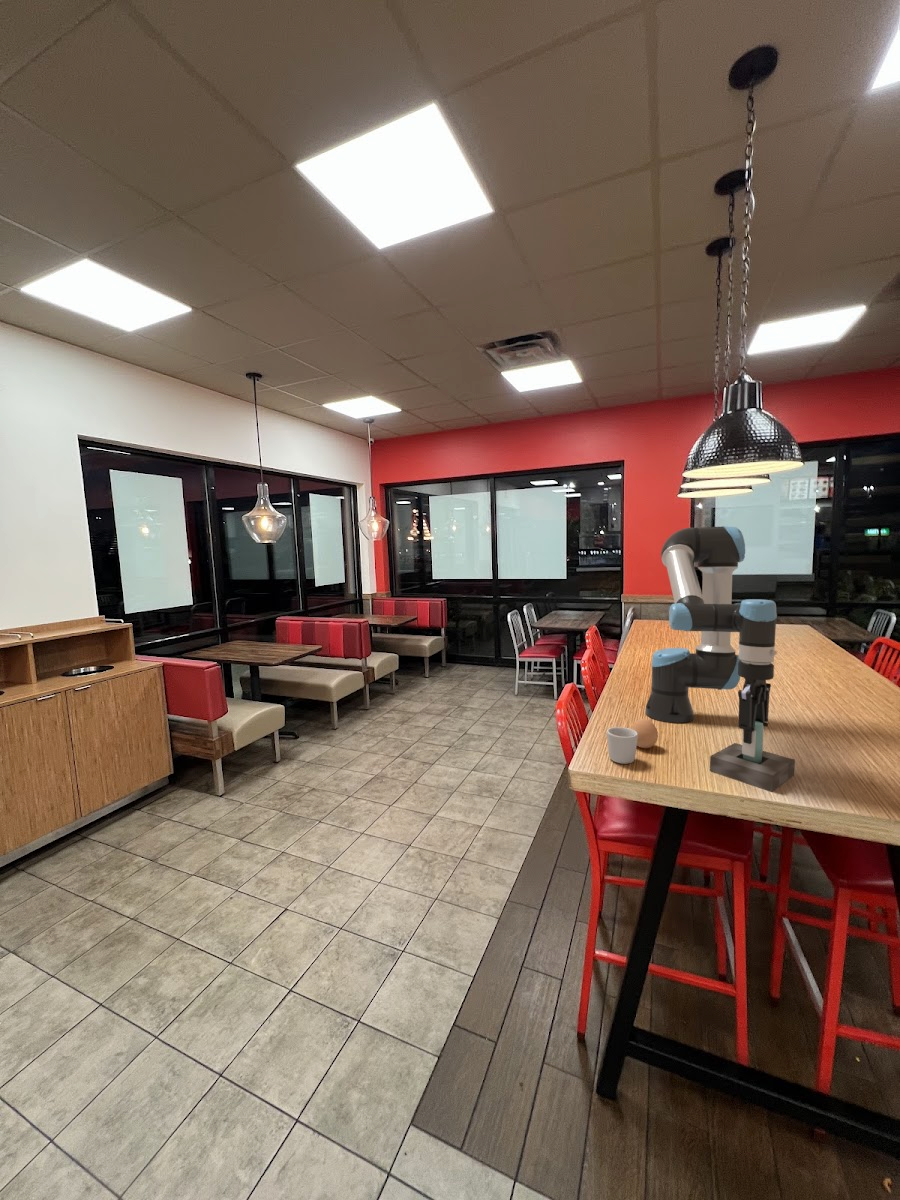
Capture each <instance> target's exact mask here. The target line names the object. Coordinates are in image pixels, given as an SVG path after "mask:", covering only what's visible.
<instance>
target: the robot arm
mask: <svg viewBox="0 0 900 1200" xmlns="http://www.w3.org/2000/svg"><path fill="white" fill-rule="evenodd" d="M745 554H746V544H745V539H744V535H743V532H742V530H741V529H739V528H738V527H737V526H736V527H735V526H726V525H721V526H705V527H704V526H703V527H685V528H682V529H680V530H677V531H675V532H674V533H672V534H671V535H670V536H669V537H668V538H667V539H666V540H665V542H664V543H663V546H662V548H661V552H660V556H661V557H660V558H661V562H662V564H663V565H664V567H666V570H667V575H668V579H669V583H670V584H669V585H670V588H671V591H672V592H671V593H672V596H673V603H672V604H671V605H670V606H669V613H668V621H669V622H668V624H669V627H670V629H672V630H673V631H684V632H701V633H700V634H701V635H700V644H699V645H697V646H696V647H695V653H693V652H692V653H691V651H690V649H688V648H683V647H669V648H668V647H667V648H662V649H658V650H656V651H655V652H653V654H652V656H651V657H652V658H651V664H650V665H651V689H650V690H651V691H650V695H649V698H648V700H647V703H646V705H645V715H646V716H647V717H648V718H651V719H654V720H657V721H659V722H665V723H677V724H678V723H680V724H681V723H682V724H684V723H689V722H691V721H693V720H694V710H693V707H692V703H691V700H690V697H689V689H690V688H693V689H706V690H707V689H708V690H709V689H711V690H718V691H721V690H733V689H735V688H736V687H737V686H738V685H739V683H740V679H741V678H743V679H744V683H743V685H742V690H741V689H738V691H737V695H738V727H737V728H738V729H741V730H742V743H741V745H742V754H745V755H748V756H751V757H755V747H756V731H754V728H755V721H758V722H761V723H763V736H764V731H765V729H764V728H765V727H766V728H767V727H769V723H768V721H769V707H770V705H769V704H770V693H771V687H772V686H771V683H768V682H767V681H769V680H770V681H771V680H772V679H774V677H775V676H774V675H775V674H774V673H775V665H774V661H775V655H777V652H778V651H776V650H775V648H776V647H775V646H776V629H777V628H776V626H777V617H778V614H777V605H776V602H775V601H774V600H771V599H769V600H768V599H761V598H760V599H754V598H753V599H750V598H749V599H743V600H741V602H737V603H732V599H733V597H732V595H733V592H732V590H733V572H735V571H736V570H737V569H738V568H739V563H742V562H743V561H744V560H745V557H746V556H745ZM694 563H697V569H698V570H699V571H700V572H701V573H702V589H701V586H700V582H699V580H698V579H699V578H698V576H697V572H696V569H695V566H694ZM731 633H739V634H738V635H739V636H738V654H736V649H735V648H734V647H733V646H732V645H731V638H732V637H731V635H732V634H731ZM763 751H764V741H763V742H762V752H763Z"/></svg>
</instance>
